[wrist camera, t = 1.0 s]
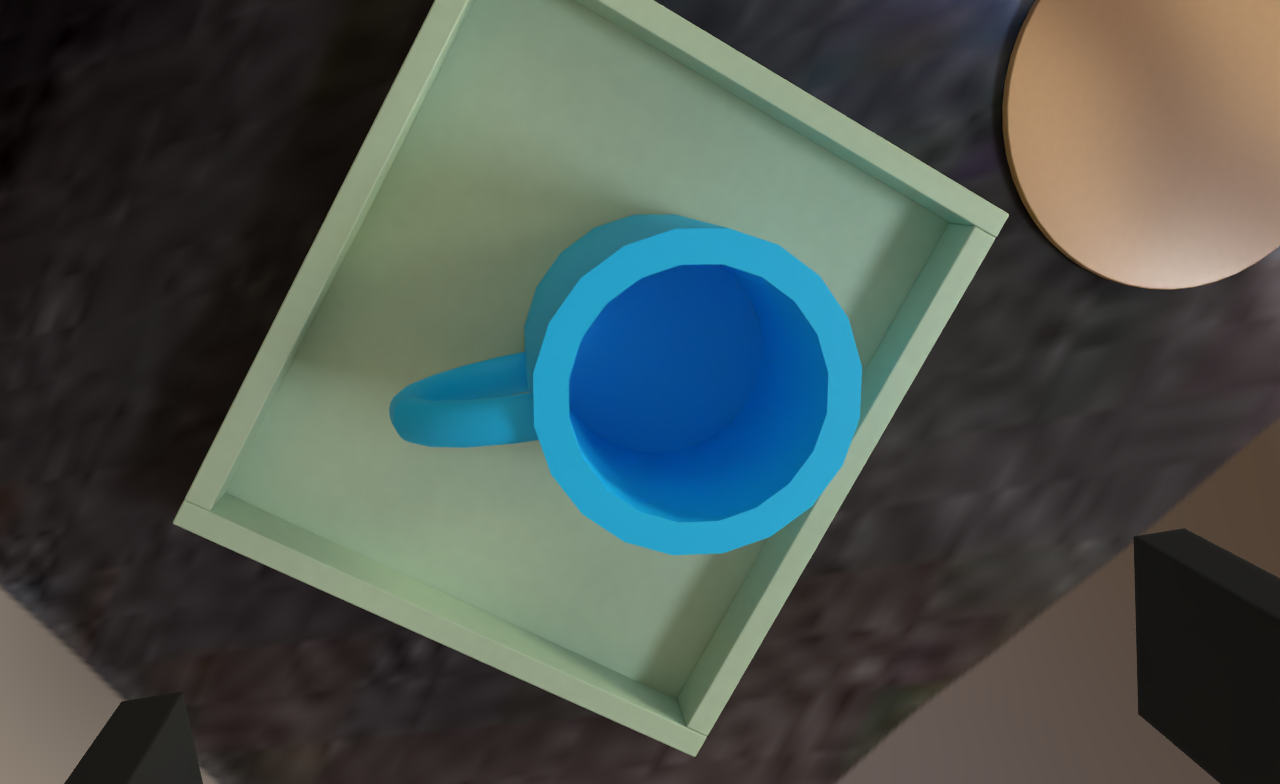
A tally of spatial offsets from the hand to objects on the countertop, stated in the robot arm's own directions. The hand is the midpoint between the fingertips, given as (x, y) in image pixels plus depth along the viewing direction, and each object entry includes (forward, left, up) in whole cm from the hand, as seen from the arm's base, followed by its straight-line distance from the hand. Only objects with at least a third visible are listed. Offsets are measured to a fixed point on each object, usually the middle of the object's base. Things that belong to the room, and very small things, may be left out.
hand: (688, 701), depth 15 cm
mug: (-1, 0, -21) cm, 21 cm away
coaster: (-17, +13, -21) cm, 30 cm away
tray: (-1, 0, -21) cm, 21 cm away
